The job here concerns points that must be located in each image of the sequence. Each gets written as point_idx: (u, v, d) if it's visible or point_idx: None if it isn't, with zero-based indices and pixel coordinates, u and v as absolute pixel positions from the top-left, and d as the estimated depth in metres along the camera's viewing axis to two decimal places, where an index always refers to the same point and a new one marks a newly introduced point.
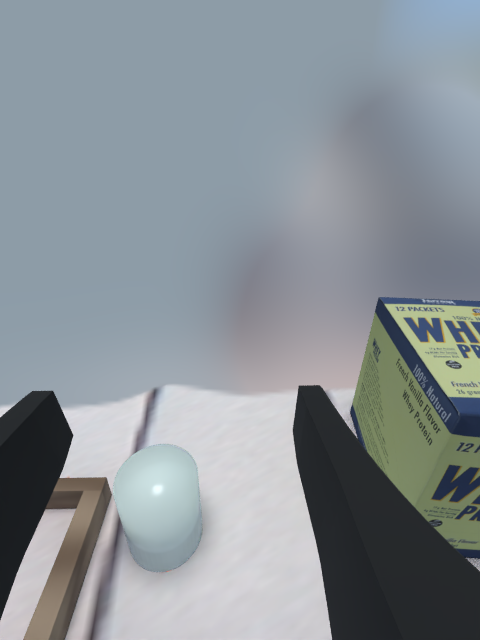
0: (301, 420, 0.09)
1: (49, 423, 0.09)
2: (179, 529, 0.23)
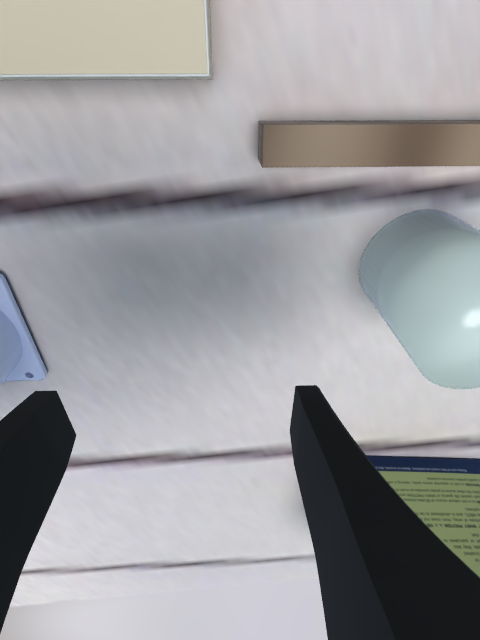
0: (298, 420, 0.09)
1: (52, 423, 0.09)
2: (396, 337, 0.16)
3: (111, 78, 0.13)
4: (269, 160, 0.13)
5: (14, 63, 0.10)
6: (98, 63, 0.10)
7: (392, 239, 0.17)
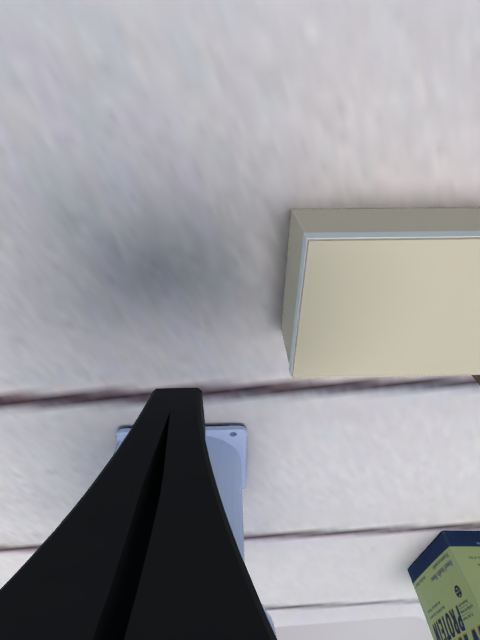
0: None
1: None
2: None
3: None
4: None
5: (376, 372, 0.16)
6: (428, 372, 0.16)
7: None
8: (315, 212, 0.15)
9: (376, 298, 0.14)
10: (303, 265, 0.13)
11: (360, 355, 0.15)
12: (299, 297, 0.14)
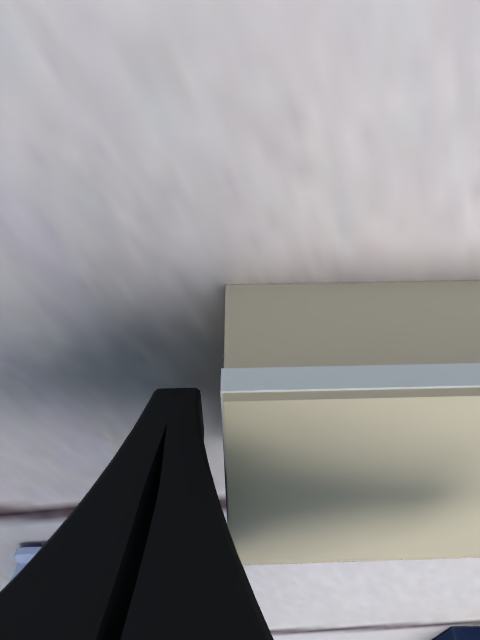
0: None
1: None
2: None
3: None
4: None
5: (371, 557, 0.10)
6: (457, 554, 0.10)
7: None
8: (264, 295, 0.09)
9: (369, 477, 0.07)
10: (223, 429, 0.07)
11: (343, 540, 0.09)
12: (225, 470, 0.07)
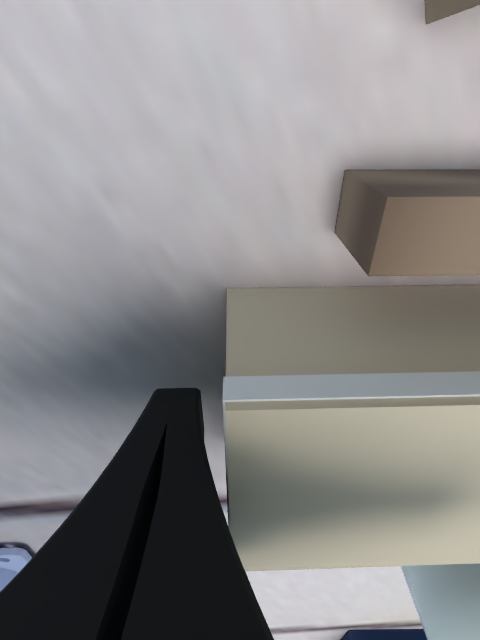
0: None
1: None
2: None
3: None
4: None
5: (372, 563, 0.10)
6: (459, 560, 0.10)
7: None
8: (265, 302, 0.09)
9: (371, 485, 0.07)
10: (225, 437, 0.07)
11: (344, 546, 0.09)
12: (226, 477, 0.07)
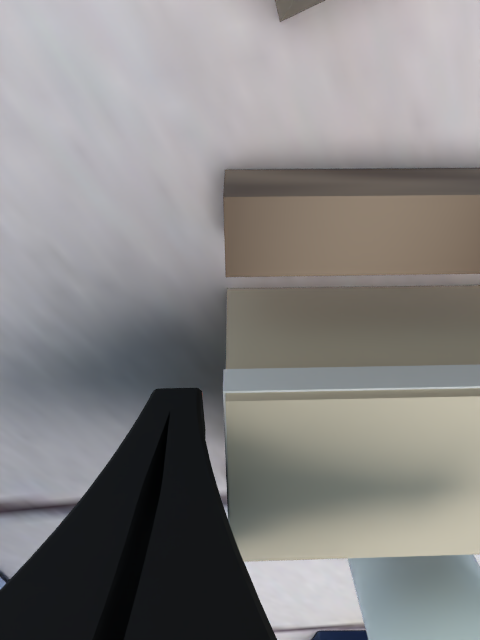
0: None
1: None
2: None
3: None
4: None
5: (369, 553, 0.10)
6: (453, 551, 0.10)
7: None
8: (265, 297, 0.09)
9: (367, 475, 0.07)
10: (225, 428, 0.07)
11: (341, 537, 0.09)
12: None
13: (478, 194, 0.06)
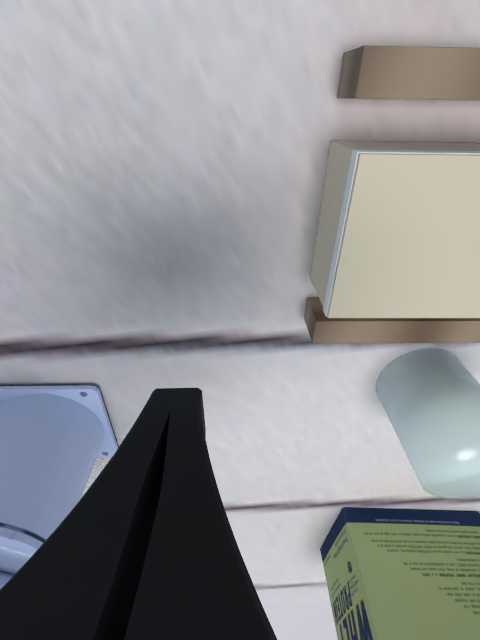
0: None
1: None
2: (405, 452, 0.21)
3: None
4: (318, 339, 0.19)
5: (415, 313, 0.16)
6: (468, 313, 0.16)
7: (403, 375, 0.22)
8: (357, 142, 0.15)
9: (424, 225, 0.13)
10: (350, 185, 0.12)
11: (400, 292, 0.15)
12: (343, 223, 0.13)
13: None
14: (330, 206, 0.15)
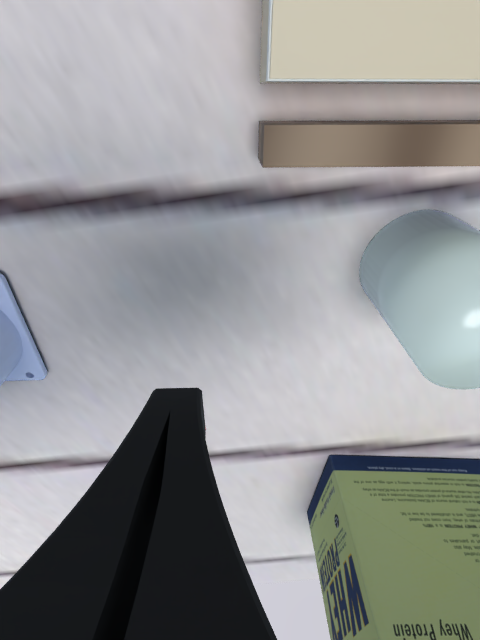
0: None
1: None
2: (396, 337, 0.16)
3: (413, 82, 0.13)
4: (269, 160, 0.13)
5: (399, 68, 0.10)
6: (479, 69, 0.10)
7: (392, 239, 0.17)
8: None
9: None
10: None
11: (375, 19, 0.10)
12: None
13: None
14: None
